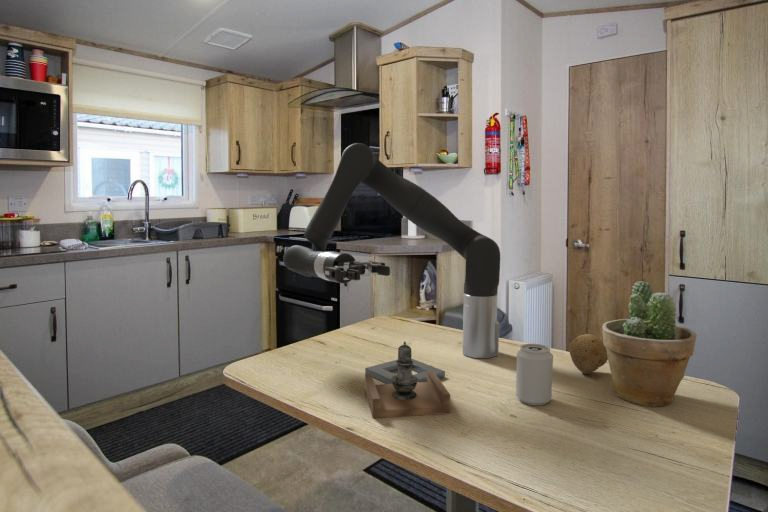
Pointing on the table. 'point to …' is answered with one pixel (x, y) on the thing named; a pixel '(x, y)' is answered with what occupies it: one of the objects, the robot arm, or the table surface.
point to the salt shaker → (404, 375)
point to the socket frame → (385, 369)
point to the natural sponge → (588, 353)
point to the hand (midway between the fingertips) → (374, 273)
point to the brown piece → (426, 402)
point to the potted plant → (648, 349)
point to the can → (534, 374)
